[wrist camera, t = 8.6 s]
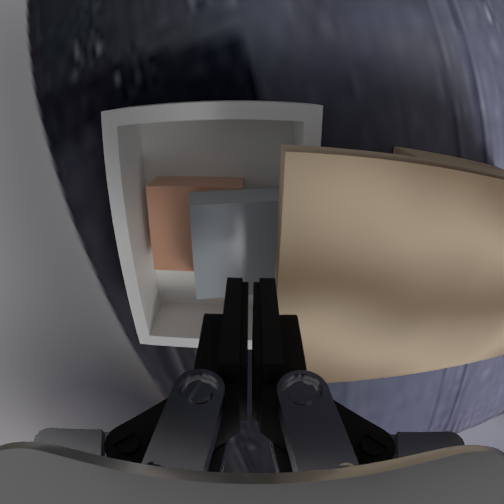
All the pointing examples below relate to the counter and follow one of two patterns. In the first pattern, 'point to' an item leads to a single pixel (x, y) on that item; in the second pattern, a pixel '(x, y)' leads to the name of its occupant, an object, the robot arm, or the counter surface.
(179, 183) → the terracotta tile
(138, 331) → the tray
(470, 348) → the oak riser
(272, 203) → the slate tile
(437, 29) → the counter surface
